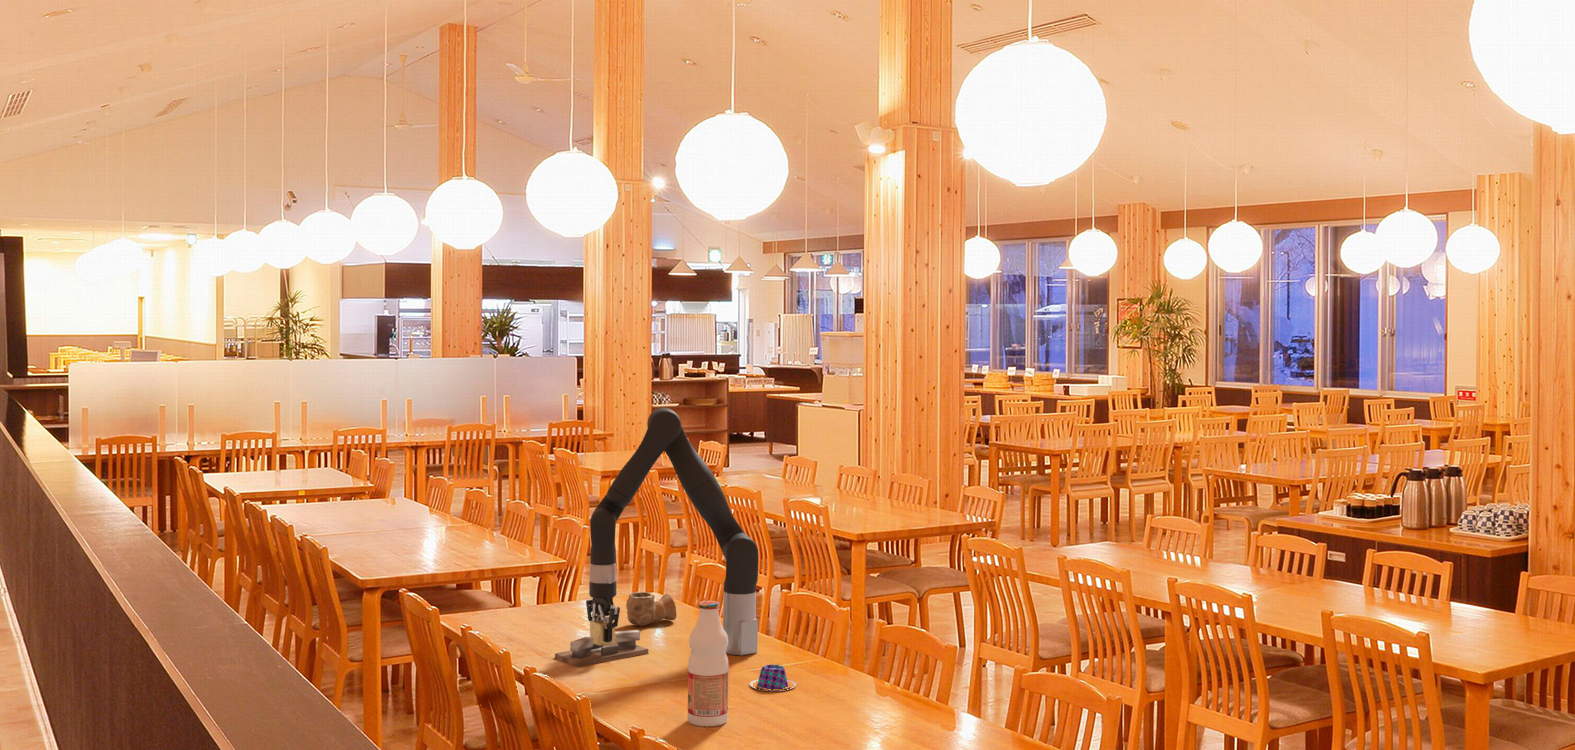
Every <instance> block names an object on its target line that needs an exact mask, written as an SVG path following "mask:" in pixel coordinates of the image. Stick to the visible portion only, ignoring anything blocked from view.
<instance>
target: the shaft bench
mask: <svg viewBox="0 0 1575 750" xmlns="http://www.w3.org/2000/svg"><path fill="white" fill-rule="evenodd" d="M636 641H641V631H640V630H639V629H634V630H633V629H632V630H619V631H615V643H613V644H607V645H602V646H599V645H596V644H593V638H592V637H590V636H584V637H581V638H577V639H575V640H572V641H570V643H569V645H570V646H569V649H570V650H567V651H561V652H557V653H554V658H555V659H557V660H559V661H562V662H565V663H568V664H570V665H572V666H575V667H577V668H579V667H585V666H590V665H596V664H601V663H605V662H606V663H607V662H610V661H616V660H621V659H622V660H623V659H625V658H630V657H631V658H632V657H637V656H641V655H646V654H647V655H648V654H649V648H647V647H645V646H640V645H637V644H636V643H637V642H636Z"/></svg>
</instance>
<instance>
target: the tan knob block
mask: <svg viewBox="0 0 1575 750" xmlns="http://www.w3.org/2000/svg"><path fill="white" fill-rule="evenodd" d="M608 621H609V620H607V624H608ZM589 622H590V623H589V637H592V638H593V644H596V645H599V646H602V645H607V644H613V643H615V632H616V627H614V628H613V629H612V641H611V642H604V629H605V628H604V623H603V621H602V620H601V619H599V620H593V621H589ZM613 623H614V620H613Z"/></svg>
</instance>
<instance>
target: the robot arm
mask: <svg viewBox="0 0 1575 750" xmlns="http://www.w3.org/2000/svg"><path fill="white" fill-rule="evenodd" d="M664 452H665V454H666V456H667V457H668V459H669V461H670V462H671V465H672V467H673V469H674V472H675V475H676V476H677V478H678V480H679V483H680V484H681V487H682V489H683V490H684V492H685V494H686V496H687V497H688V499H689V500H690V502H691V503H692V505H693V506H694V508H695V510H696V511H697V512H698V513H699V515H700V516H701V518H702V519H703V520H704V522H705V523H706V524H707V525H708V526H709V528H710V529H711V531H712V533H713V534H714V537H715V540H716V541H717V543H718V546H719V547H720V551H721V552H722V555H723V558H724V559H725V578H724V581H723V603H722V604H723V610H722V611H723V613H722V614H723V617H722V619H723V621H722V627H723V628H724V630H725V632H726V633H727V636H728V646H727V649H726V654H729V655H733V656H746V655H750V654H755V653H758V645H759V644H758V641H759V639H758V637H759V636H758V635H759V634H758V631H759V630H758V629H759V620H758V618H757V615H756V614H757V611H756V610H757V609H756V607H757V584H758V579H759V548H758V546H757V544H756V542H755V541H754V540H753V539H752V538H751V537H750V536H749V535H748V534H747V533H746V532H745V530H744V529H743V528H742V527H741V526H740V524H739V523H738V521H737V519H736V518H735V517H734V515H733V513H732V511H731V508H730V505H729V503H728V501H727V497H726V495H725V494H724V491H723V489H722V486H721V485H720V484H719V482H718V481H717V479H716V477H715V475H714V474H713V472H712V471H711V469H710V468H709V466H708V465H707V464H706V462H705V461H704V460H703V458H702V457H701V456H700V455H699V454H698V452H697V451H696V450H695V448H694V446H693V445H692V444H691V442H690V440H689V438H688V436H687V434H686V431H685V429H684V428H683V426H682V421H681V419H680V416H679V415H678V414H677V412H675V411H674V410H672V409H671V408H668V407H658V408H656V409H654V410H652V411H651V413H650V414H649V416H648V418H647V429H646V431H645V434H644V436H643V438H642V440H641V443H640V444H639V445H638V447H637V449H636V450H635V452H634V453H633V454H632V456H631V457H630V458H629V459H628V461H627V462H626V463H625V464H624V466H623V467H622V468H621V470H620V471H619V472H618V474H617V476H616V477H615V479H614V480H613V481H612V483H611V484H610V487H609V488H608V489H607V492H606V494H605V495H604V497H603V498H602V499H601V500H600V502H599V503H598V504H597V506H596V508H595V509H594V511H593V512H592V514H591V516H590V520H589V528H590V529H589V530H590V545H591V546H590V554H589V555H590V557H589V560H590V561H589V564H590V565H589V575H588V576H589V578H588V579H589V580H588V581H589V582H588V583H589V585H588V586H589V587H588V589H589V590H588V593H589V594H588V595H589V597H590V598H592V599H587V600H585V604H586V614H587V620H588V622H590V621H593V620H599V619H601V620H602V621H603V623H604V628H605V629H604V642H611V641H612V629H613V628H614V627H615V628H618V625H619V619H620V611H621V609H620V606H616V605H615V603H614V600H613V599H614V597H617V587H618V586H617V576H618V575H617V564H616V559H617V551H616V550H617V549H616V544H615V543H616V541H615V540H616V523H617V522H618V520H619V518H620V517H621V515H622V513H623V511H624V510H625V508H626V507H627V506H628V505H629V504H630V503H631V501H632V500H633V498H634V497H635V496H636V494H637V492H638V491H639V489H640V487H641V486H642V484H643V482H644V481H645V479H646V478H647V475H648V474H649V473H650V471H651V469H652V468H653V466H654V465H655V464H656V462H657V461H658V459H659V458H660V456H662V454H663V453H664ZM607 620H609V621H608V624H607ZM613 621H614V623H613Z"/></svg>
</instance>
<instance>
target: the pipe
mask: <svg viewBox="0 0 1575 750" xmlns="http://www.w3.org/2000/svg"><path fill="white" fill-rule="evenodd" d="M625 606H626V613H627V621H628V623H630V624H631V625H635V626H637V627H645V626H648V625H649V624H651V623H653V622H658V621H663V620H666V621H675V620H676V619H677V615H678V614H677V606H676V602H675V599H674V598H673V597H672V596H671V595H670V594H668V593H665V594H663V595H662V596H661V598H660V599H659V600H656V601H655V595H654V594H652V593H651V592H650V591H649V592H648V591H633V592H630V593H629V595H628V598H627V601H626V605H625Z"/></svg>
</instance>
